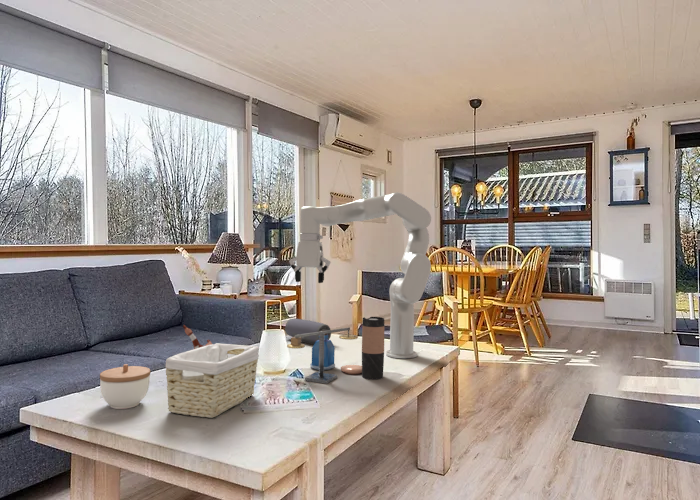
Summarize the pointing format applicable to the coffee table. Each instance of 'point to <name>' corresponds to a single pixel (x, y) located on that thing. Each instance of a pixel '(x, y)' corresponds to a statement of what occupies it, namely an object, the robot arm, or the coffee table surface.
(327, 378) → the balance
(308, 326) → the bluetooth speaker
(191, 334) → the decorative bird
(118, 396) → the lidded bowl
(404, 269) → the robot arm
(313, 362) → the perfume bottle
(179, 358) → the storage basket
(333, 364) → the pale blue dome
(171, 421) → the coffee table surface
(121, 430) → the coffee table surface
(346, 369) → the peach glossy round dome
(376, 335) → the travel mug
